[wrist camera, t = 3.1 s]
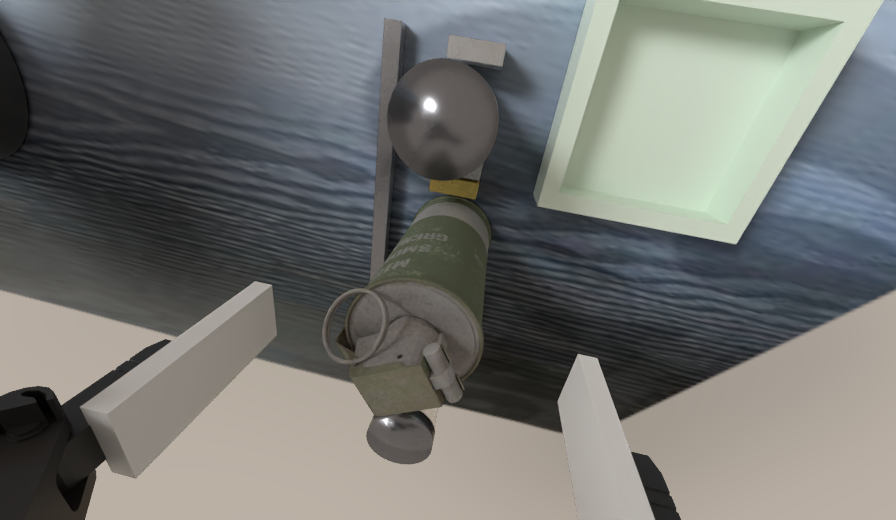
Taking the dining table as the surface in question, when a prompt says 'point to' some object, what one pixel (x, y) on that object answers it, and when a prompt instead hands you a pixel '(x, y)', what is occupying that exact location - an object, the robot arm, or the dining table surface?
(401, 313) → the grenade
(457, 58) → the fuse rail
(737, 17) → the tray
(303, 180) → the dining table surface
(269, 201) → the dining table surface
